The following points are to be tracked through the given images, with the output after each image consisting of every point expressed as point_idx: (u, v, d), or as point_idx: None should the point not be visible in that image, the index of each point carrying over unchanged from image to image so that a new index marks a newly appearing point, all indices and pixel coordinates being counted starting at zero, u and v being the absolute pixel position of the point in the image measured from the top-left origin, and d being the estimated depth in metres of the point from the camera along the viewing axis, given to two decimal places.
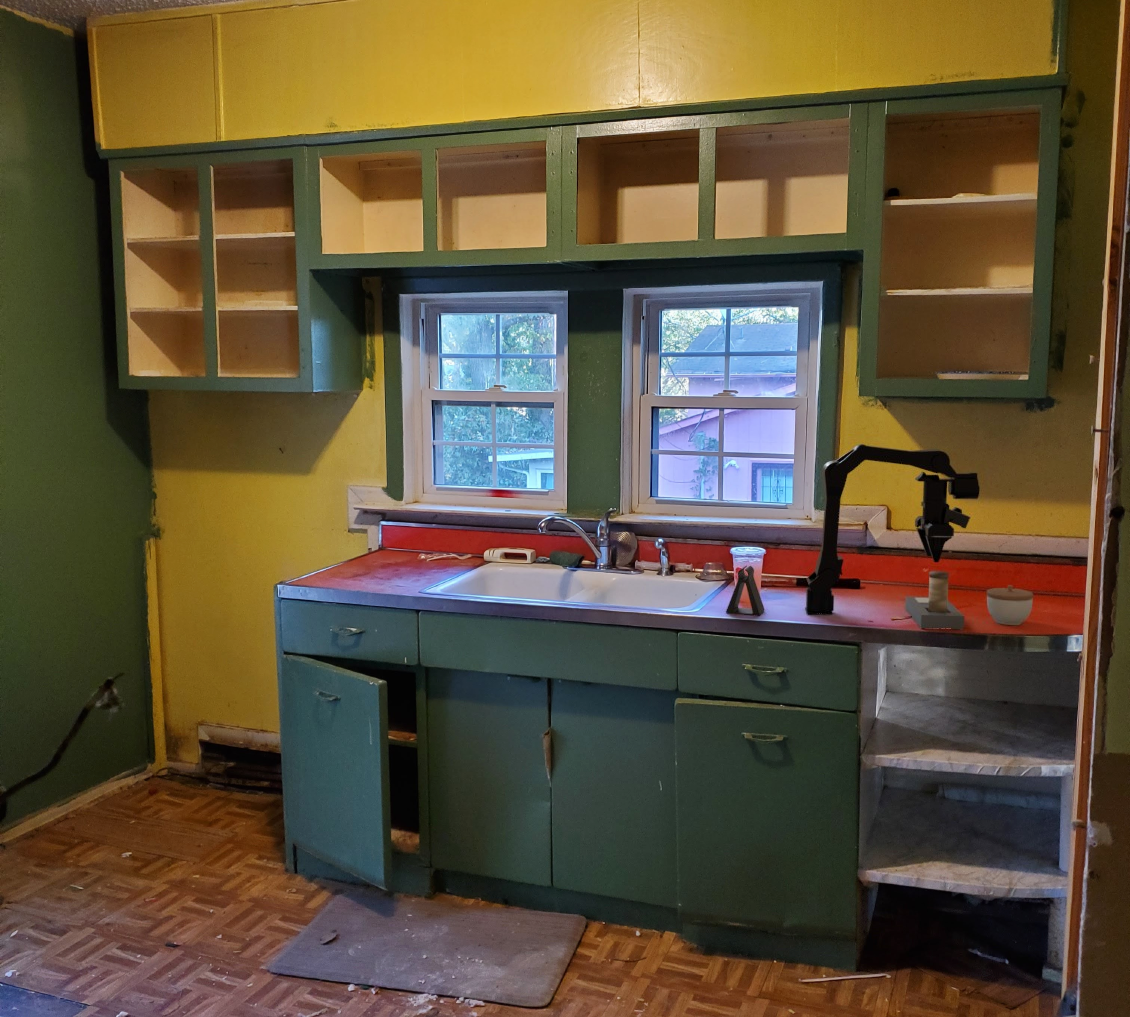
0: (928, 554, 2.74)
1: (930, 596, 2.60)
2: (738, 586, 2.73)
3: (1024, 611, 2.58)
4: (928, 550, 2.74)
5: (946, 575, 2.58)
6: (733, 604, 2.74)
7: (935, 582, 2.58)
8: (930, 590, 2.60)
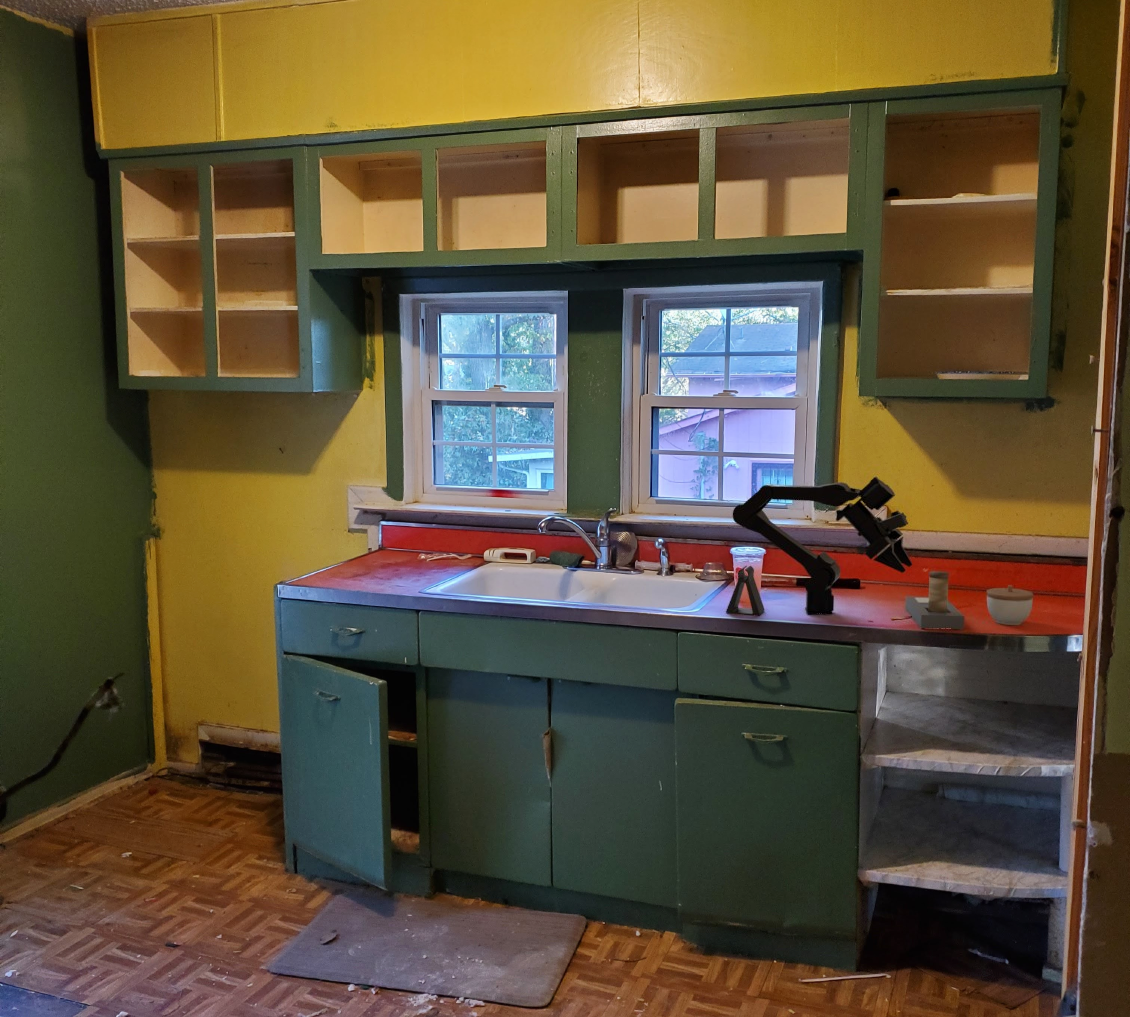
0: (908, 564, 2.68)
1: (930, 596, 2.60)
2: (738, 586, 2.73)
3: (1024, 611, 2.58)
4: (905, 561, 2.68)
5: (946, 575, 2.58)
6: (733, 604, 2.74)
7: (935, 582, 2.58)
8: (930, 590, 2.60)
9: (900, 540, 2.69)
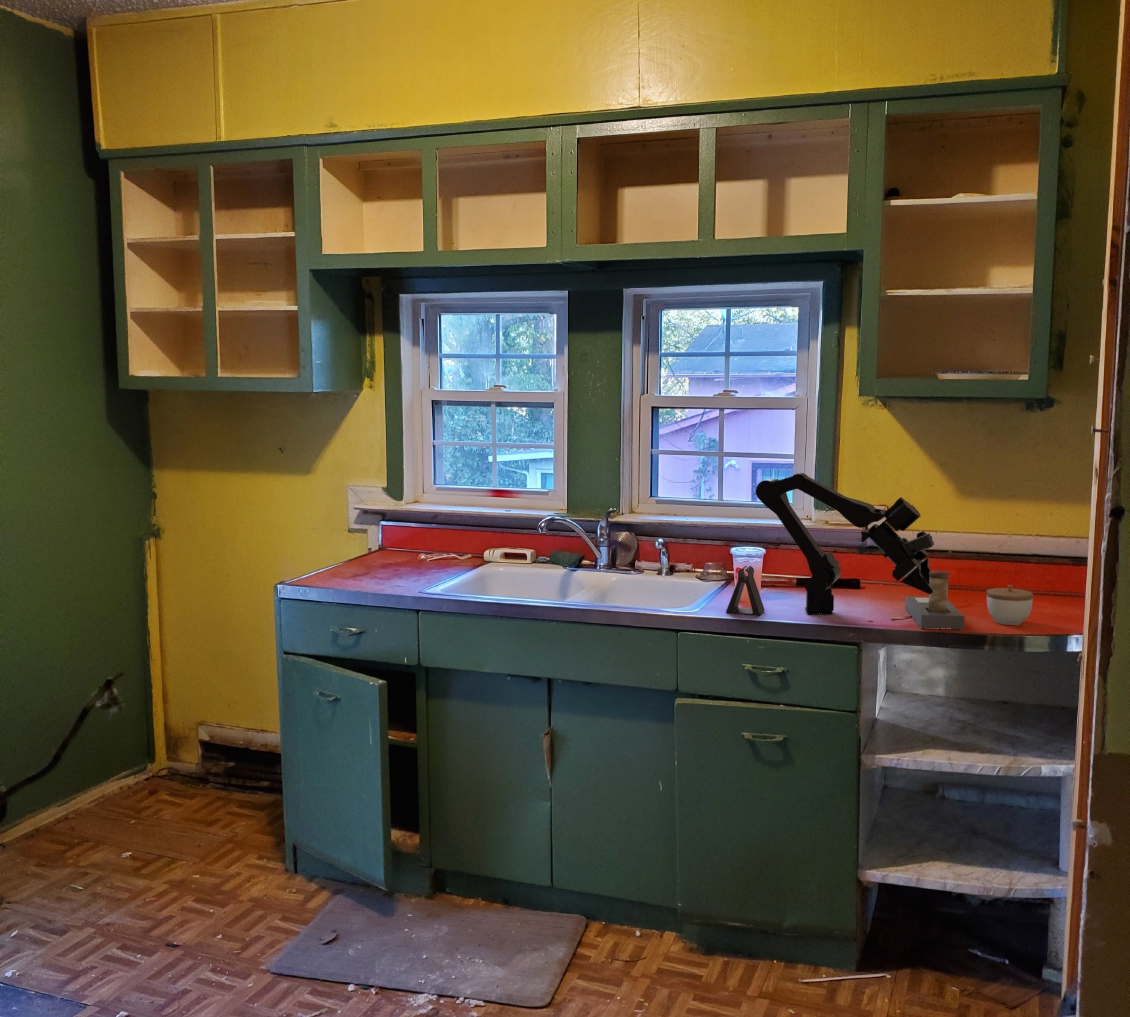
0: None
1: (930, 596, 2.60)
2: (738, 586, 2.73)
3: (1024, 611, 2.58)
4: None
5: (946, 575, 2.58)
6: (733, 604, 2.74)
7: (935, 582, 2.58)
8: None
9: (926, 561, 2.66)
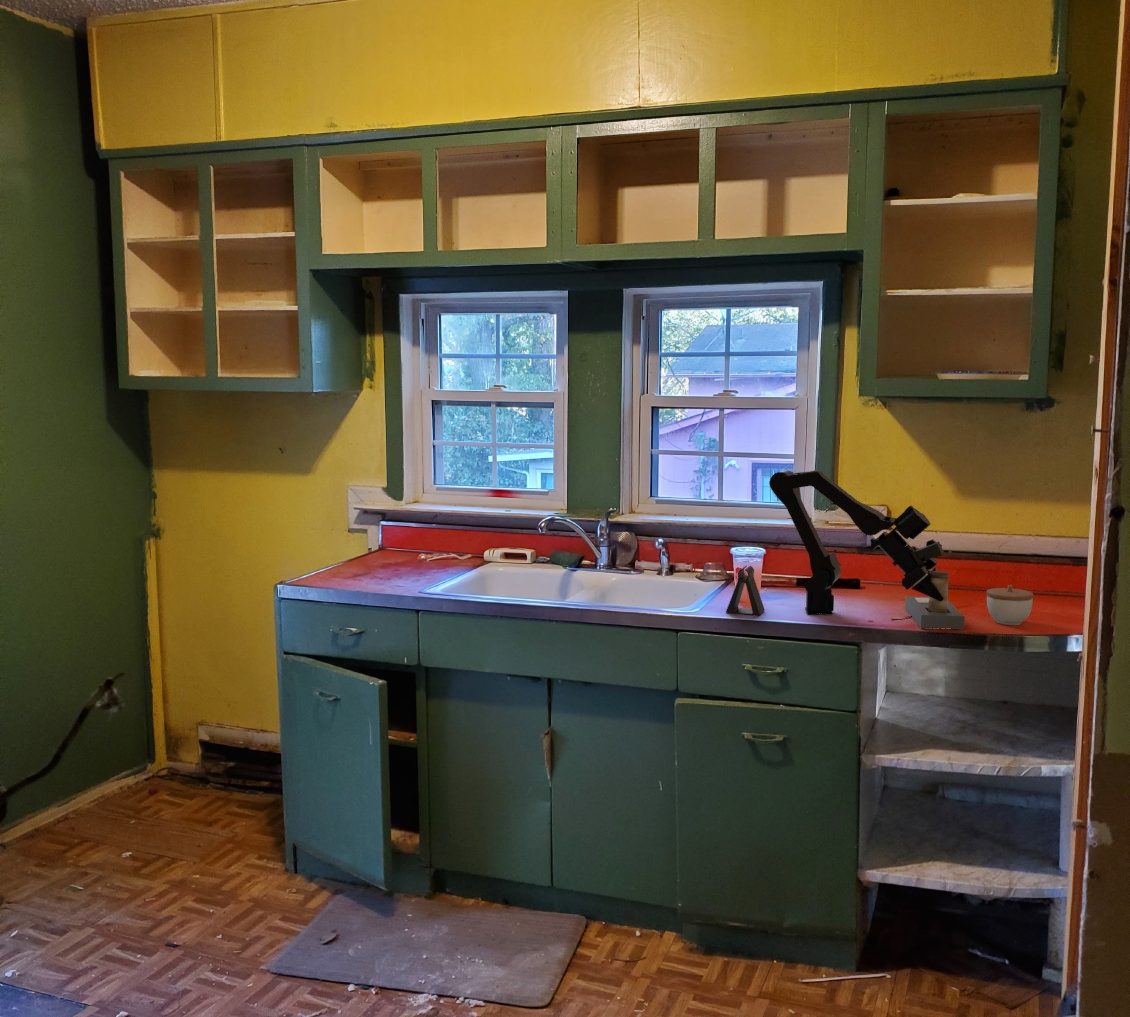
0: None
1: None
2: (738, 586, 2.73)
3: (1024, 611, 2.58)
4: None
5: (946, 575, 2.58)
6: (733, 604, 2.74)
7: (935, 582, 2.58)
8: None
9: (934, 570, 2.63)
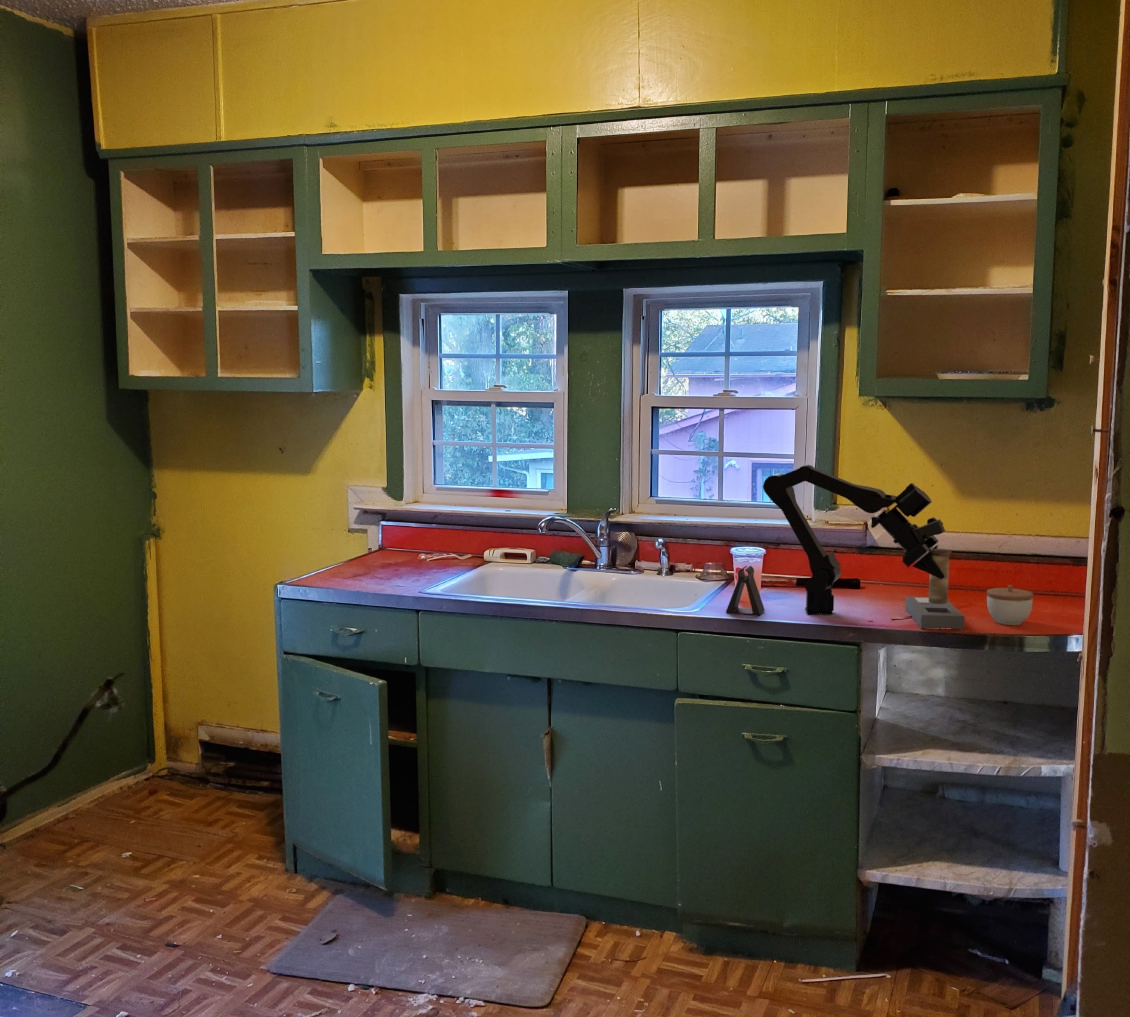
0: None
1: None
2: (738, 586, 2.73)
3: (1024, 611, 2.58)
4: None
5: (947, 553, 2.57)
6: (733, 604, 2.74)
7: (936, 560, 2.58)
8: None
9: (935, 548, 2.62)
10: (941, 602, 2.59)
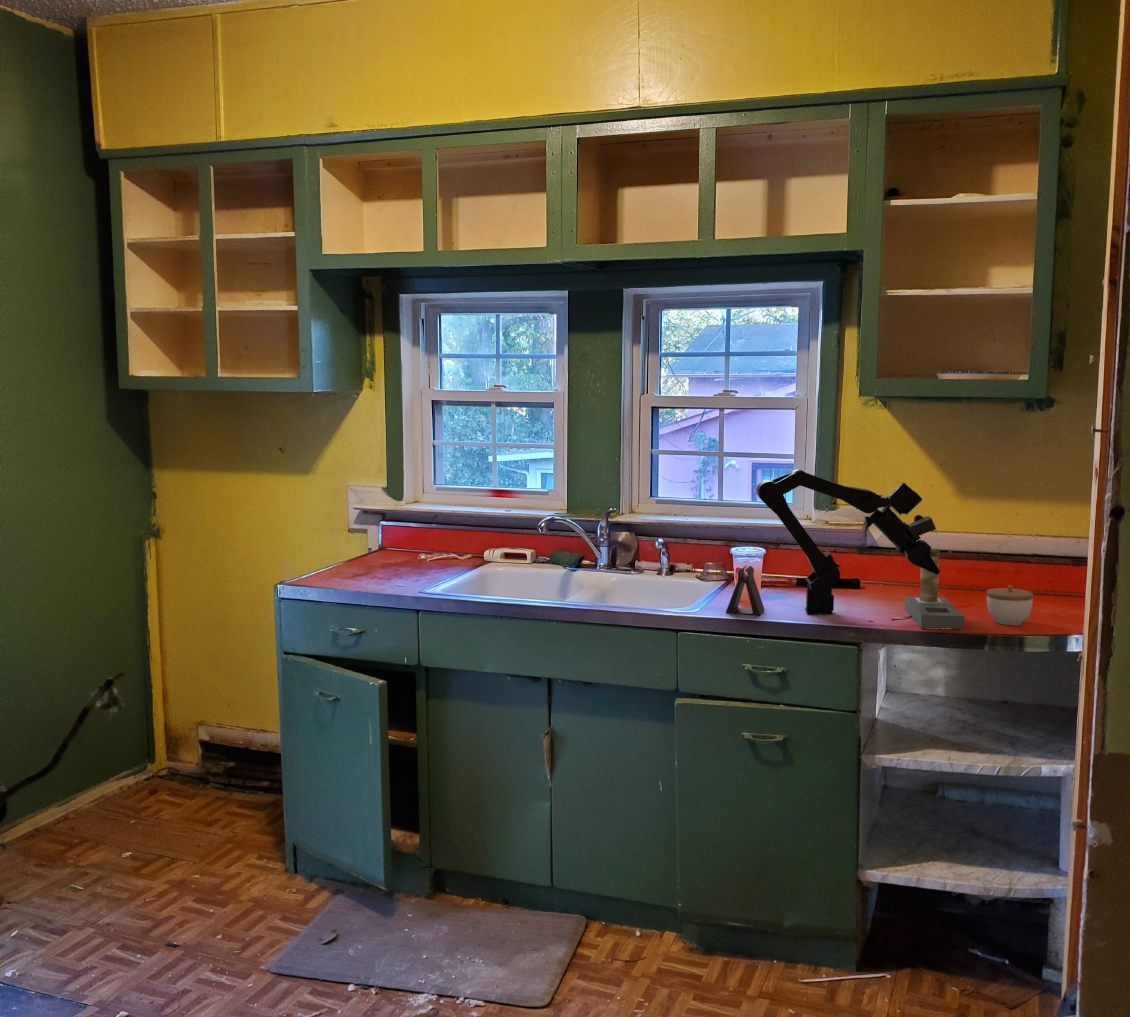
0: None
1: (924, 574, 2.70)
2: (738, 586, 2.73)
3: (1024, 611, 2.58)
4: None
5: (938, 552, 2.69)
6: (733, 604, 2.74)
7: None
8: None
9: None
10: (934, 600, 2.70)
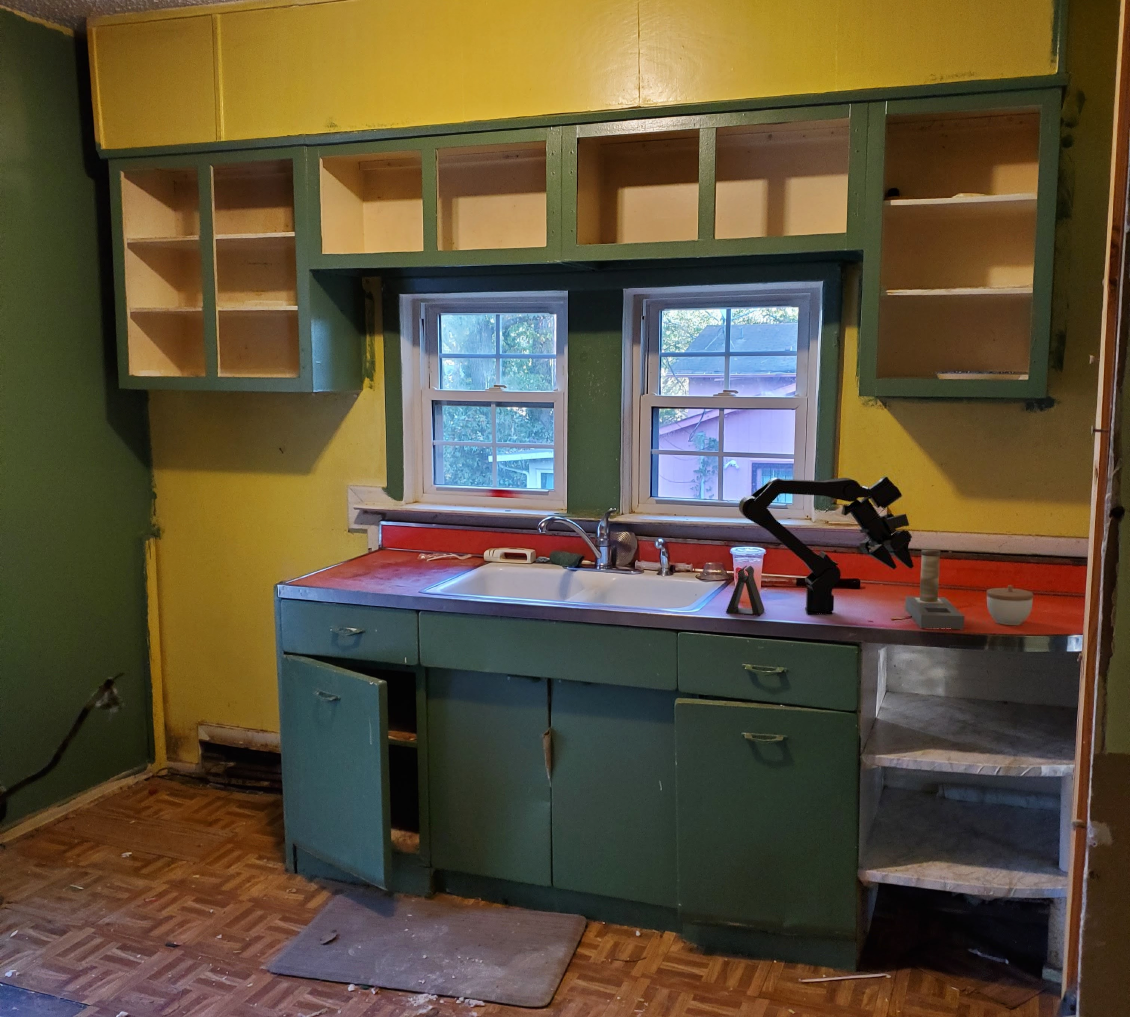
0: (893, 567, 2.77)
1: (924, 574, 2.70)
2: (738, 586, 2.73)
3: (1024, 611, 2.58)
4: (891, 564, 2.77)
5: (939, 553, 2.69)
6: (733, 604, 2.74)
7: (930, 560, 2.68)
8: (924, 568, 2.69)
9: None
10: (934, 600, 2.70)
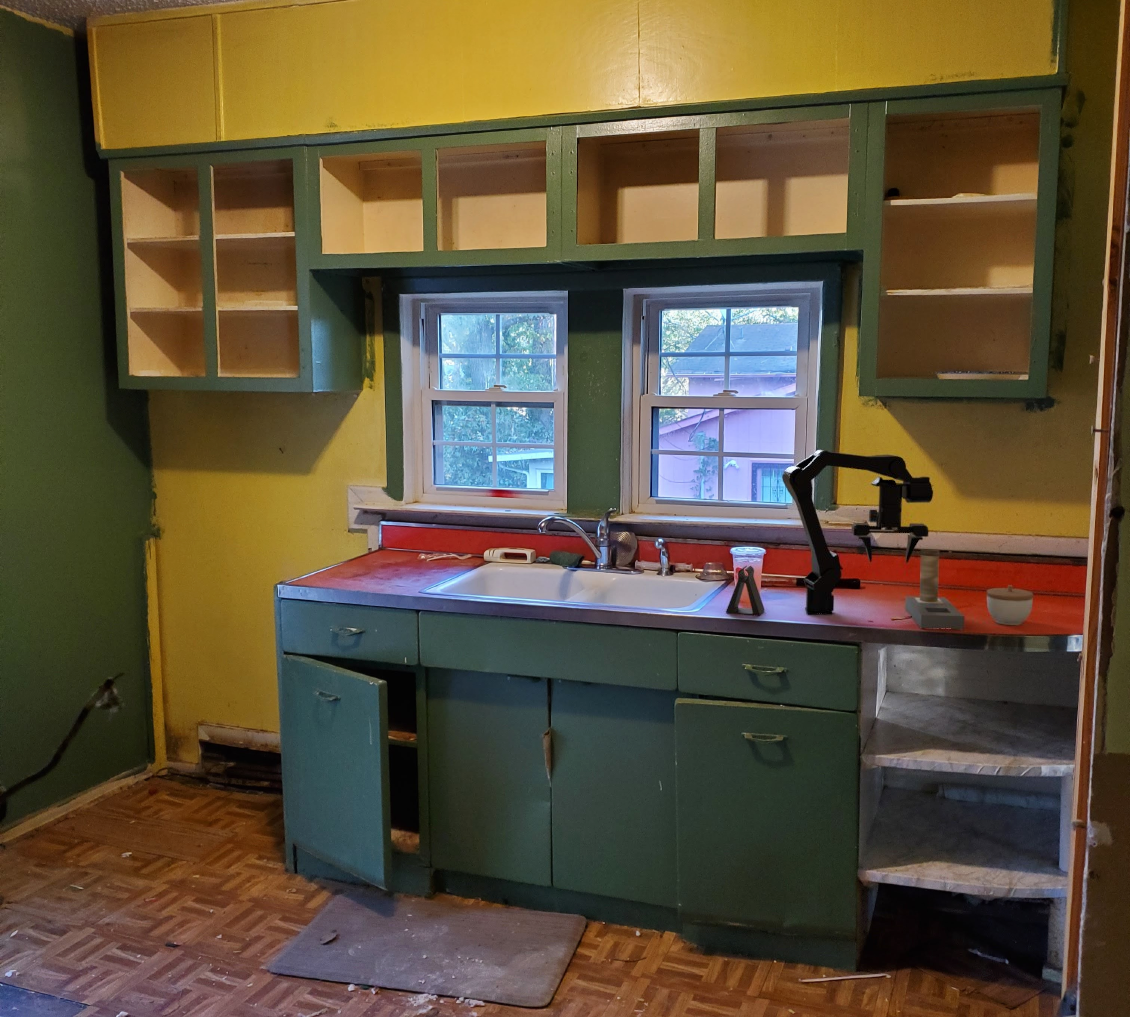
0: None
1: (924, 574, 2.70)
2: (738, 586, 2.73)
3: (1024, 611, 2.58)
4: None
5: (938, 552, 2.69)
6: (733, 604, 2.74)
7: (929, 560, 2.69)
8: (924, 567, 2.70)
9: None
10: (934, 600, 2.70)
